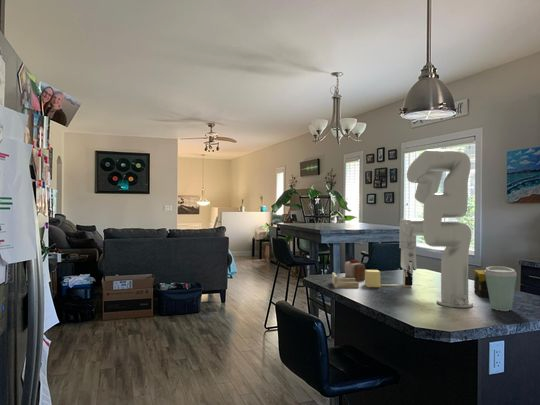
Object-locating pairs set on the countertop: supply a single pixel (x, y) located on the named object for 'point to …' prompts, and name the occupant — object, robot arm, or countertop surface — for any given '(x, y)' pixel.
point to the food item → (355, 270)
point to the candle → (480, 284)
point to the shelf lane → (344, 282)
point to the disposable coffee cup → (500, 287)
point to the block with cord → (374, 279)
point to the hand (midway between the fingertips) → (407, 284)
